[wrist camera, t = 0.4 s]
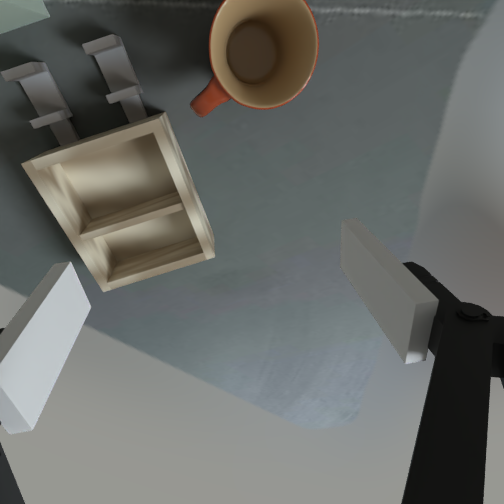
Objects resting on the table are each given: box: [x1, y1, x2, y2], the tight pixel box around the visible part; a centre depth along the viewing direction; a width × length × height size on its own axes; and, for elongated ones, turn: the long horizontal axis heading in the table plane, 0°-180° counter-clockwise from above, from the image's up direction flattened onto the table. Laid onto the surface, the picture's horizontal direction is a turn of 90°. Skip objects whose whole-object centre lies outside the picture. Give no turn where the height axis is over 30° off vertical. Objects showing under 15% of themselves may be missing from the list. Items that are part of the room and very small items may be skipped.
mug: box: [190, 0, 319, 117], centre depth 31 cm, size 12×9×10 cm
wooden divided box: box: [1, 34, 215, 292], centre depth 36 cm, size 24×14×6 cm, turn 16°
